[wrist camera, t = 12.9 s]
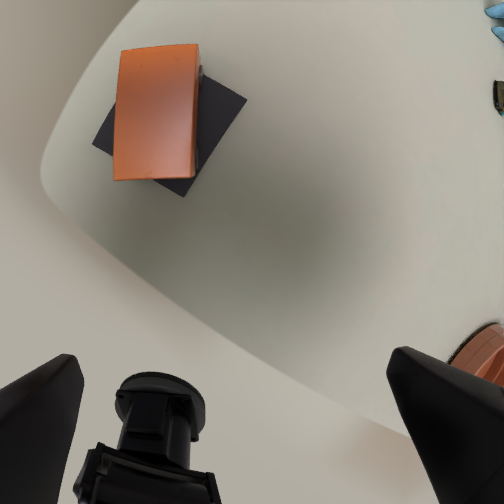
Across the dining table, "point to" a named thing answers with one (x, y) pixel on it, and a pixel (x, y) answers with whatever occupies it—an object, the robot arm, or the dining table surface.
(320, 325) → the dining table surface
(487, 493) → the robot arm
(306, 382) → the dining table surface
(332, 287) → the dining table surface
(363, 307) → the dining table surface
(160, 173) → the orange block
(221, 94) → the mat
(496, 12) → the chair
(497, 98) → the race car
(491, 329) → the bowl
